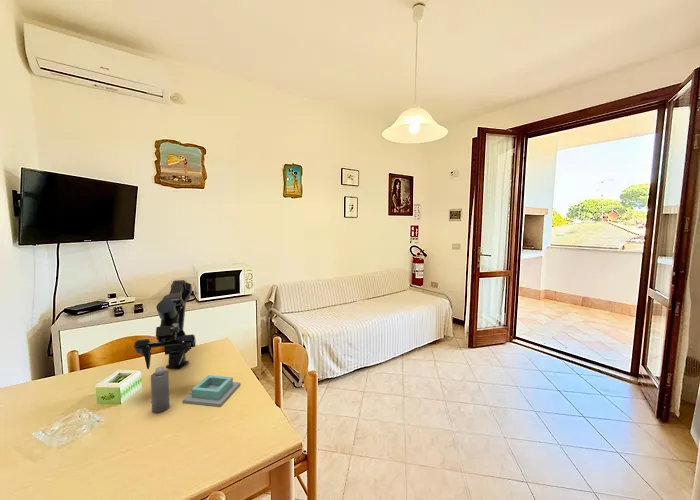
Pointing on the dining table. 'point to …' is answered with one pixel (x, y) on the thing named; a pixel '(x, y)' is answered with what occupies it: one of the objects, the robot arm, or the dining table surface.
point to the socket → (212, 391)
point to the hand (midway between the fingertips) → (163, 366)
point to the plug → (160, 390)
